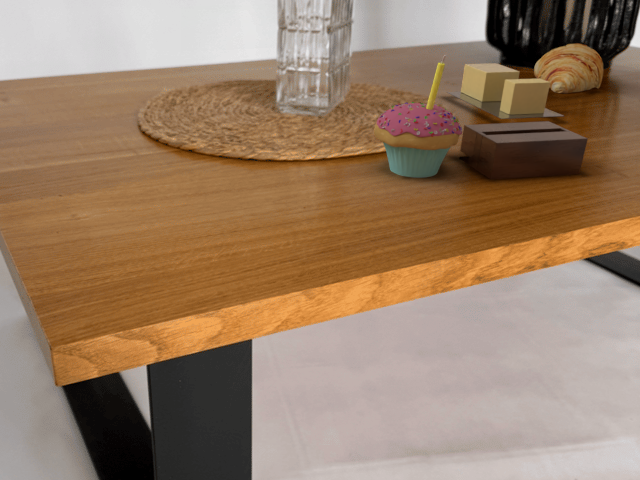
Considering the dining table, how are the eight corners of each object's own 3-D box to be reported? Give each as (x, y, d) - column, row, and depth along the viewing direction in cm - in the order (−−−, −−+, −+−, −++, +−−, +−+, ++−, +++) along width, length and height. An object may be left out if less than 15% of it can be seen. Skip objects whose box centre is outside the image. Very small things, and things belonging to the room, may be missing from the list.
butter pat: (499, 110, 91) (504, 79, 89) (533, 109, 92) (539, 78, 90) (509, 114, 89) (514, 83, 87) (544, 113, 90) (550, 82, 88)
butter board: (445, 100, 102) (450, 63, 99) (500, 98, 103) (507, 62, 101) (499, 128, 88) (507, 86, 85) (562, 125, 89) (572, 84, 87)
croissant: (574, 126, 102) (614, 80, 97) (518, 88, 103) (554, 40, 98) (583, 95, 119) (617, 55, 114) (534, 63, 120) (566, 21, 115)
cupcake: (470, 173, 71) (489, 52, 66) (423, 192, 66) (440, 63, 60) (401, 155, 77) (414, 42, 71) (353, 171, 71) (363, 51, 66)
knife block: (541, 156, 77) (548, 121, 75) (578, 176, 71) (588, 138, 69) (458, 161, 75) (464, 124, 73) (490, 182, 69) (496, 143, 67)
